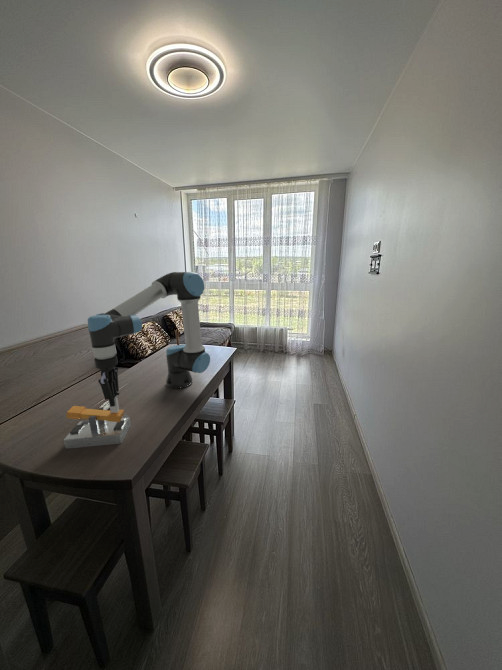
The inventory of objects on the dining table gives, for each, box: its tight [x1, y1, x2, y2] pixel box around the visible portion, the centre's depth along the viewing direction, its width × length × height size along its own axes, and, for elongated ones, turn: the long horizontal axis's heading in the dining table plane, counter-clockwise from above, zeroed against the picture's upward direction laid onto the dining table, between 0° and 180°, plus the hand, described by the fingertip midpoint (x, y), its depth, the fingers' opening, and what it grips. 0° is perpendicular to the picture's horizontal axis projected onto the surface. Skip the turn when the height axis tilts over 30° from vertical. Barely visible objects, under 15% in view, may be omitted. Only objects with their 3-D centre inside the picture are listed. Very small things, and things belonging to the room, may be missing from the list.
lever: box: [66, 405, 125, 422], centre depth 101 cm, size 19×5×3 cm, turn 98°
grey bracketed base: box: [63, 406, 132, 450], centre depth 102 cm, size 20×12×11 cm, turn 98°
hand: (115, 411), depth 101 cm, fingers closed
